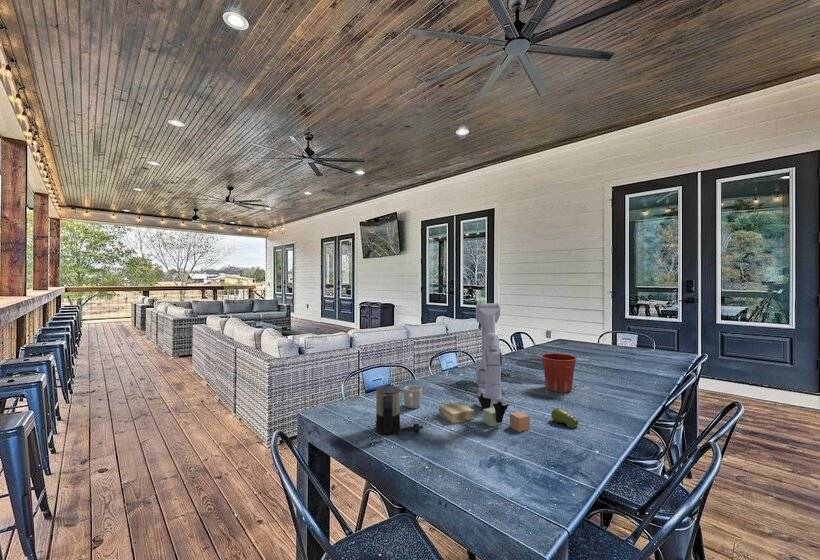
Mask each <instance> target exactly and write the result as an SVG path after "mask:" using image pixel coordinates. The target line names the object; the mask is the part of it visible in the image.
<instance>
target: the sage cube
mask: <svg viewBox="0 0 820 560" xmlns="http://www.w3.org/2000/svg"><path fill="white" fill-rule="evenodd" d="M482 414H483V415H482V422H483V423H484V424H485V425H488V426H489V425H490V426H489V427H491V426H493V427H496V425H497V426H502V425H503V421H502V422H500V423H497V422H496V413H495V408H494V407H492V408H487V409H483V410H482ZM501 424H502V425H501Z"/></svg>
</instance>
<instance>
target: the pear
mask: <svg viewBox="0 0 820 560" xmlns="http://www.w3.org/2000/svg"><path fill="white" fill-rule="evenodd" d="M551 418H552V420H553V422H556V423H559V424H562V423H563V424H565V425H566V426H567V428H571V429H574V428H577V427H578V425H579V420H578V419H577V418H576V417H575V416H574V415H571V414H570V412H568V411H567V410H565V409H563V408H560V407H556V408H554V409H552V411H551Z"/></svg>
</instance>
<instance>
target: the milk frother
mask: <svg viewBox="0 0 820 560" xmlns="http://www.w3.org/2000/svg"><path fill="white" fill-rule="evenodd" d="M375 391H376V395H375V396H376V403H375V406H376V409H375V410H376V411H375V412H376V415H375V418H376V421H375V428H374V429H375V432H376V433H378V434H381V435H394V434H397V433H399V432H409V431H414V432H419V431H420V430H422V429H424V426H423V425H419V423H413V425H411V426H407V427H403V428H402V427H401V413H400V412H401V391H402V388H401V387H399V386H395V385H380V386H378V387H376V388H375Z"/></svg>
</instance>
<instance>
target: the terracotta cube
mask: <svg viewBox="0 0 820 560" xmlns="http://www.w3.org/2000/svg"><path fill="white" fill-rule="evenodd" d="M509 427H510V428H511V429H513V430H515V431H517V432H519V433H521V432H525V431H529V430H531V416H530V415H528V414H526V413H524V412H522V411H515V412H510V413H509Z"/></svg>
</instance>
